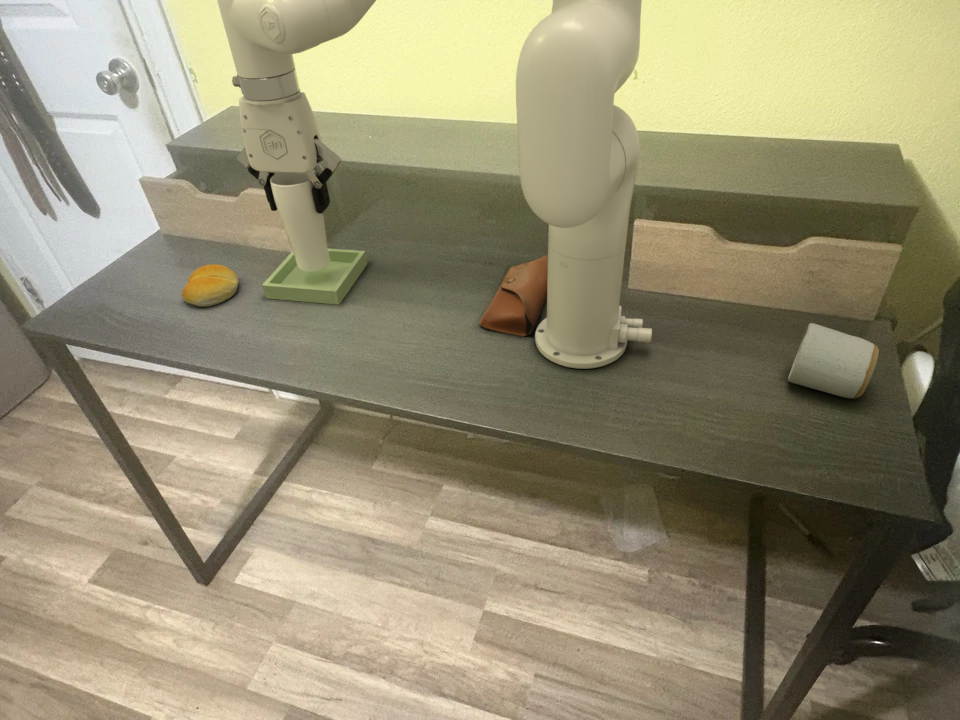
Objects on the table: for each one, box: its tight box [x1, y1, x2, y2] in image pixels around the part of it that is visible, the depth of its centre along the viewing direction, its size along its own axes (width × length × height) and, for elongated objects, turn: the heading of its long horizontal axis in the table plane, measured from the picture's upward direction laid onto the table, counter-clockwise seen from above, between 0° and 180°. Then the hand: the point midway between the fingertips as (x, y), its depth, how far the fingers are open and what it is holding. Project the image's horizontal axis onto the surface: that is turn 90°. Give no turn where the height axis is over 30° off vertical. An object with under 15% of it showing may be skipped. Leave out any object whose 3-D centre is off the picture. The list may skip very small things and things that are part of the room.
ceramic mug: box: [787, 322, 880, 399], centre depth 77 cm, size 11×8×8 cm
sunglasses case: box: [478, 253, 548, 338], centre depth 96 cm, size 18×7×7 cm, turn 163°
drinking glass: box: [270, 173, 330, 272], centre depth 98 cm, size 7×7×15 cm
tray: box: [261, 248, 369, 306], centre depth 104 cm, size 13×13×2 cm
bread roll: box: [181, 263, 240, 307], centre depth 102 cm, size 8×9×4 cm
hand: (300, 207), depth 96 cm, fingers closed on drinking glass, 6 cm apart
